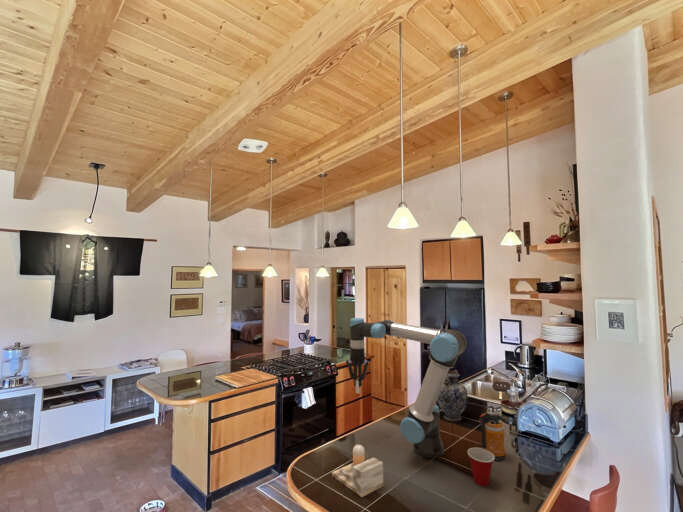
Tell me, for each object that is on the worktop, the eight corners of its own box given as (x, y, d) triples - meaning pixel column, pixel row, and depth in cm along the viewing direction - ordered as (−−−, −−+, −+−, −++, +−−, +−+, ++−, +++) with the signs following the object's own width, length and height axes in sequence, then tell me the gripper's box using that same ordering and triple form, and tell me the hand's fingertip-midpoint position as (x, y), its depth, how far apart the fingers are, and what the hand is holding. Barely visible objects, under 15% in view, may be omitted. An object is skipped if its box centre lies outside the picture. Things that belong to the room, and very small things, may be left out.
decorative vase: (443, 409, 231) (442, 365, 233) (472, 415, 220) (471, 370, 222) (431, 420, 214) (430, 373, 215) (462, 427, 203) (461, 378, 204)
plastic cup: (488, 493, 141) (487, 462, 142) (463, 482, 149) (462, 453, 150) (500, 482, 148) (499, 453, 149) (476, 472, 156) (474, 444, 157)
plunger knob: (350, 477, 151) (350, 444, 151) (359, 473, 154) (359, 441, 155) (358, 483, 146) (357, 449, 147) (367, 478, 150) (367, 445, 151)
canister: (507, 462, 164) (506, 418, 166) (482, 460, 166) (481, 416, 168) (503, 453, 173) (501, 411, 174) (479, 451, 175) (477, 409, 177)
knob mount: (331, 475, 155) (331, 453, 156) (352, 466, 163) (352, 445, 163) (361, 497, 140) (361, 472, 140) (383, 485, 147) (382, 462, 148)
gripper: (371, 346, 189) (372, 391, 187) (348, 345, 194) (349, 389, 192) (366, 349, 182) (367, 396, 180) (343, 348, 187) (344, 393, 185)
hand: (358, 392), depth 186 cm, fingers closed
